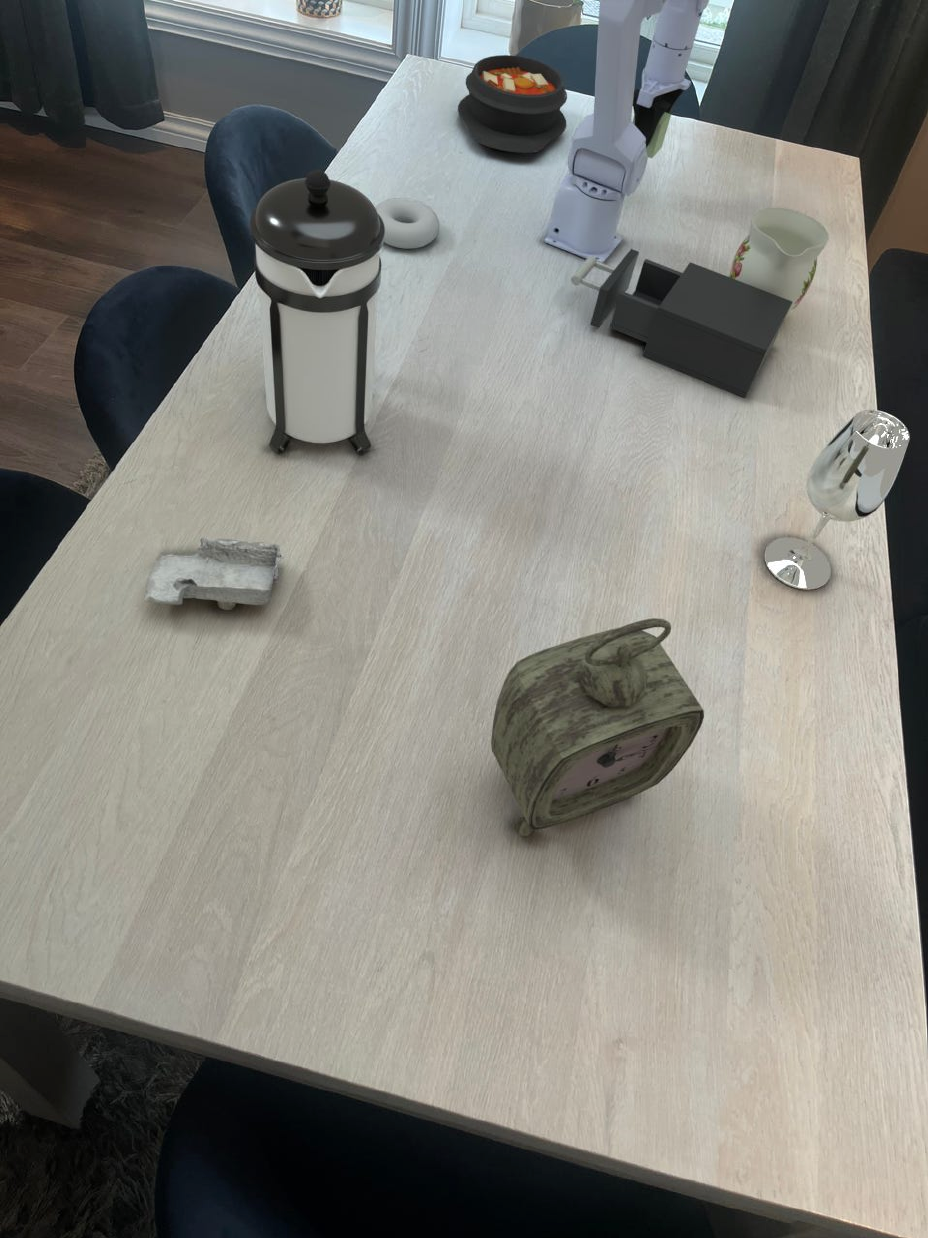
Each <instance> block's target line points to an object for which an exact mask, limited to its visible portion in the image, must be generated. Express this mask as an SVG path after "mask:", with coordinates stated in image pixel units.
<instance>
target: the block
mask: <svg viewBox="0 0 928 1238" xmlns="http://www.w3.org/2000/svg"><path fill="white" fill-rule="evenodd" d="M671 117H672V114H671V113H666V112H665V113H664V114H663V116H662V118H661V119H660V121H659V123H658V125H657V127H656V130H655V132H654V135H653V137H652V139H651V141H650V143H649V145H648V146H647V148H646V152H647V156H648V159H649V158H650V159H653V158H654V157H655V156H656V155H657V154H658V153H659V151H660V150H661V149H662V148H663V145H664V141H665V138H666V134H667V130H668V129H669V128H668V126H669V124H670V121H671ZM632 122H633V124H635V117H634V116H633V118H632Z"/></svg>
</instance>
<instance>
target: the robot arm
mask: <svg viewBox="0 0 928 1238" xmlns="http://www.w3.org/2000/svg"><path fill="white" fill-rule="evenodd" d="M709 2H710V0H598V3H599V6H598V7H599V8H598V9H599V10H598V22H597V23H598V25H597V27H598V28H597V45H596V62H595V79H594V80H595V81H594V82H595V83H594V100H593V113H592V114H589V115H587V116H586V117H585V118H584V119H583V120H582V121H581V123H580V124H579V125H578V127H577V128H576V130H575V132H574V134H573V136H572V139H571V145H570V150H569V154H568V159H567V168H568V171H569V172H568V173H566V174H565V176H564V177H563V178H562V180H561V182H560V184H559V186H558V187H557V188H558V189H557V191H556V194H555V197H554V201H553V206H552V210H551V215H550V221H549V226H548V230H547V235H546V237H545V238H544V242H545V243H546V244H549V245H551V246H553V247H556V248H558V249H562V250H564V251H566V252H569V253H571V254H573V255H576V256H579V257H581V258H583V259H585V260H586V259H587V258H588V257H589V256H594V257H596V259H597V261H598V262H600V263H603V264H605V261H606V260H607V259H608V258H609V257H610V255H611V254H612V253H613V252H614V250H615V249H616V248H618V246H619V245H620V243H621V242H622V238H621V237H620V236H617V235H616V232H617V228H618V224H619V222H620V221H619V220H620V216H621V214H622V210H623V206H624V202H625V197H629V196H630V195H632V194H634V193H635V191H636V190H637V188H638V187H639V186H640V183H641V181H642V179H643V176H644V175H645V171H646V168H647V163H648V159H649V157H648V156H647V152H646V148H647V146H648V145H649V143H650V141H651V139H652V137H653V135H654V132H655V130H656V127H657V125H658V123H659V121H660V119H661V118H662V116H663V114H664V113H665V112H666V113H669V114H671V111H672V109H673V107H674V105H675V104H676V103H677V100H679V98H680V97H681V95H682V94H683V93H684V92H685V91H686V90H688V89H689V88H690V86H691V83H692V82H691V80H689V79H687V78H686V77H685V74H686V70H687V68H688V64H689V60H690V57H691V54H692V50H693V48H694V47H693V46H694V43H695V40H696V36H697V32H698V30H699V26H700V24H701V23H700V22H701V20H702V15H703V12H704V10H705V9H707V7H708V4H709ZM656 14H658V15H657V16H658V17H657V20H656V24H655V28H654V31H653V36H652V39H651V44H650V47H649V51H648V56H647V58H646V59H647V60H646V63H645V67H644V68H643V70H642V73H641V88H640V89H638V88H637V89H635V88H636V87H635V86H636V76H637V67H638V57H639V47H640V37H641V27H642V23H643V21H644V19H645V18H648V17H651V16H654V15H656ZM632 115H633V118H634V117H635V124H633V120H632Z"/></svg>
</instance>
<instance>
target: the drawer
mask: <svg viewBox="0 0 928 1238" xmlns="http://www.w3.org/2000/svg"><path fill="white" fill-rule="evenodd" d="M639 254H640V252H639V250H636V249H634V248H631V249H630V250H629V251H628V252H627V254H625V256H624V257H623V258H622V259H621V261H620V262H619V263H618V264H617V265H616V267H613V266H610V265H608V264H606V263H600V262H598V261H597V259H596V257H594V256H589V257H588V258H587V259H586V258H585V261H583V262H582V264H581V265H580V266H579V268H578V269H577V270H576V271H575V273H573V274H572V276H571V277H570V282H571V284H572V285H574V286H579V285H582V286H585V287H588V288H590V289H592V290H595V291H597V292H598V293H597V298H596V301H595V305H594V308H593V313H592V316H591V320H590V323H589V325H590V326H591V327H594V328H596V329H600V326H601V325H602V324H603V323H604V321H605V319H607V317H608V316H609V315H610V314H611V312H612V311H613V313H612V317H611V321H610V324H609V328H610V329H612V330H615V331H617V332H619V333H621V334H624V335H627V336H629V337H632V338H634V339H636V340H638V341H642V342H644V343H646V344H647V341H648V338H649V335H650V332H651V328H652V325H653V322H654V319H655V316H656V313H657V310H658V307H659V306H660V304H661V303H662V302H663V300H664V299H665V297H666V296H667V294H668V293H669V292H670V290H671V289H672V287H673V286H674V284H675V283H676V282H677V280H678V279H679V277H680V276H681V274H682V273H683V272H682V271H679V270H676V269H674V268H671V267H668V266H666V265H663V264H661V263H658V262H655V261H652V260H650V259H649V258H648V259H647V258H645V259H644V261H643V263H642V266H641V270H640V272H639V276H638V280H637V282H636V286H635V290H634V291H633V292H632V293H628V292H627V291H628V290H629V288H630V284H631V280H632V277H633V275H634V271H635V267H636V263H637V260H638V257H639ZM593 268H596V269H599V270H602V271H604V272H607V273H610V274H609V276H608V277H607V279H605V281H604V282H603V283H602V285H601V284H599V283H596V282H594V281H592V280H590V279H586V277H587V276H588V275H589V273H590V272H591V271H592V270H593Z"/></svg>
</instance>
